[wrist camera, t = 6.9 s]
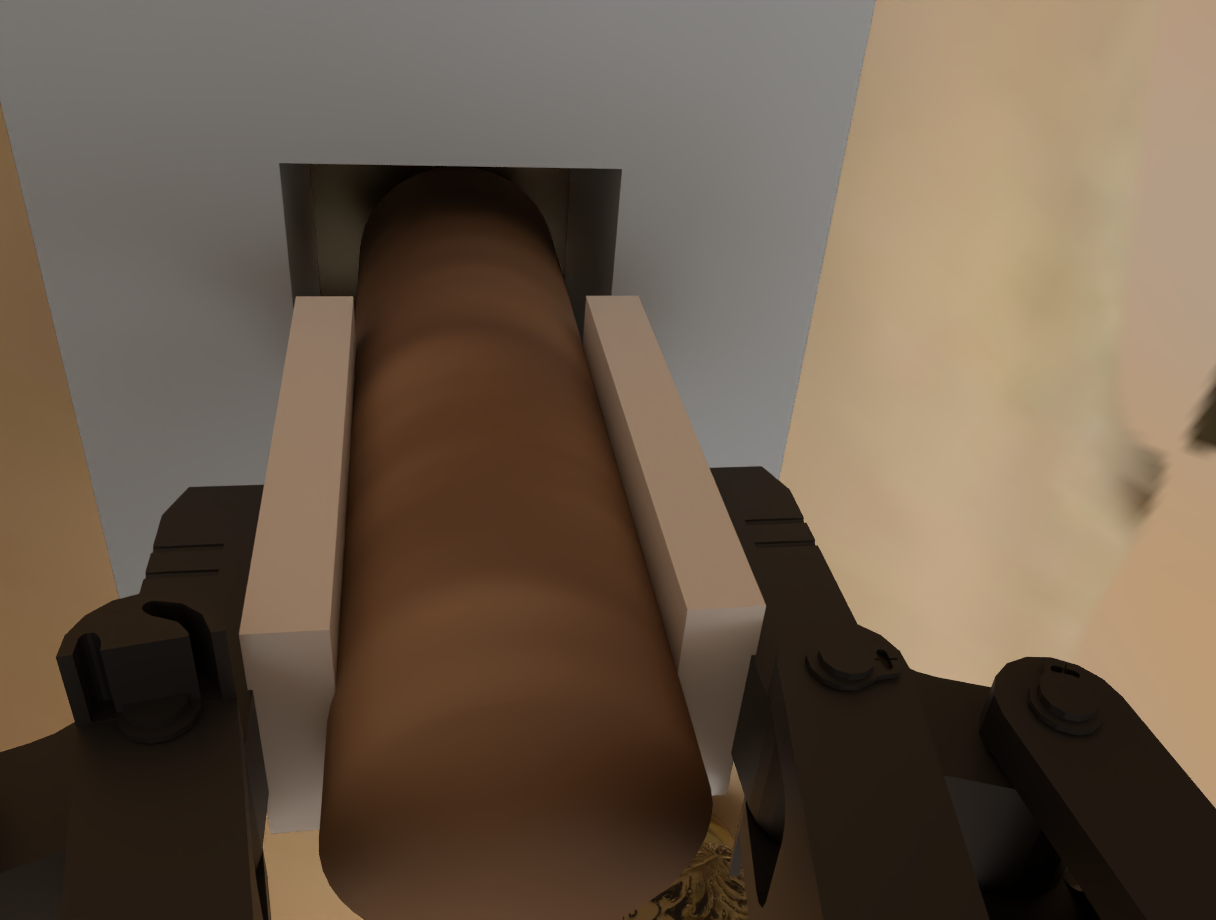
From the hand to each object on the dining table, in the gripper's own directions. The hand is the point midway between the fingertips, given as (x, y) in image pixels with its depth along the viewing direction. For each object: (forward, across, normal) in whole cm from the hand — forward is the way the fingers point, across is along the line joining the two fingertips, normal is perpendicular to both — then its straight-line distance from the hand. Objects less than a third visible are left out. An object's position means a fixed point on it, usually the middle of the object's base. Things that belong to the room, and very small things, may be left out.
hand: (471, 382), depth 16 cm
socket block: (+7, 0, 0) cm, 7 cm away
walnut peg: (+4, 0, 0) cm, 4 cm away
